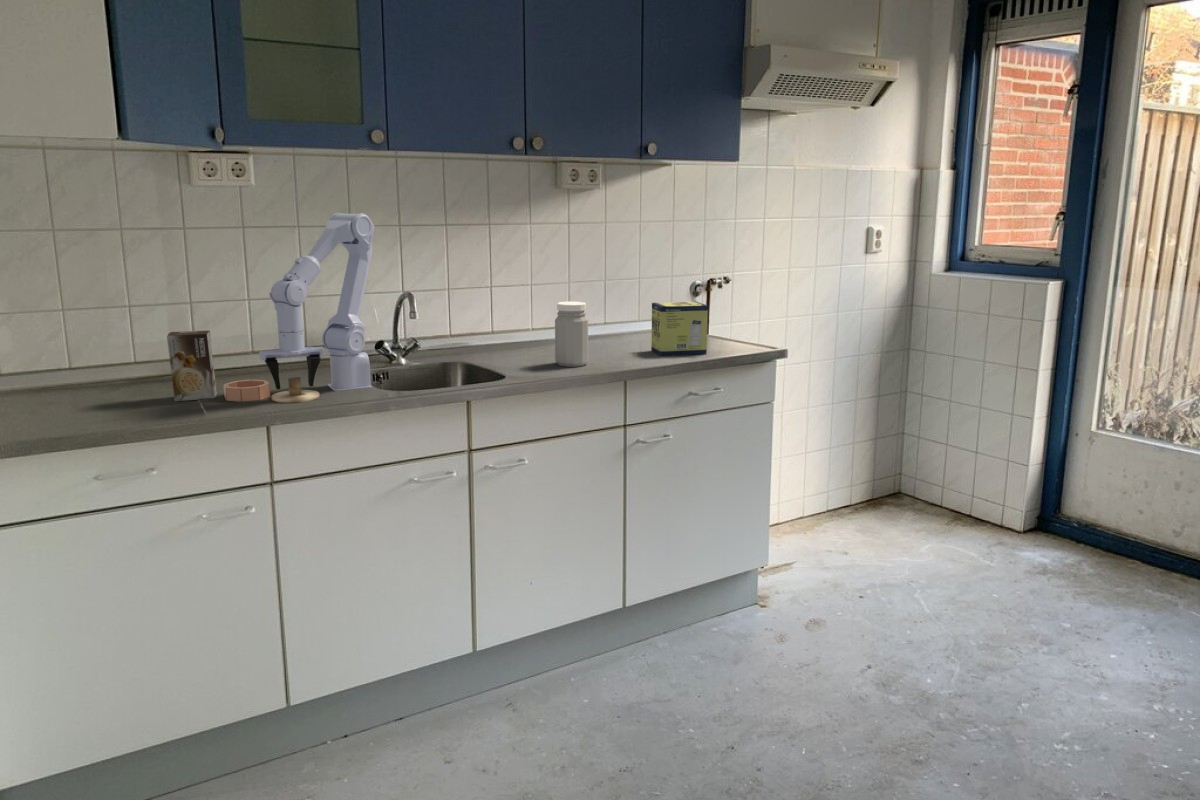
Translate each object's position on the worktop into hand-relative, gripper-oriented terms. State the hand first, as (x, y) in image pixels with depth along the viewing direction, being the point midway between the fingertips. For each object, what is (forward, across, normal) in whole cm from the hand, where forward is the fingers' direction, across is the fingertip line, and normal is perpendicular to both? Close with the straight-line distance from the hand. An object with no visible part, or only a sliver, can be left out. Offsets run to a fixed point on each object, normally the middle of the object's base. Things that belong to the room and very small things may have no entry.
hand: (294, 387), depth 216 cm
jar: (+3, +80, +10) cm, 81 cm away
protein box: (+3, +119, +12) cm, 120 cm away
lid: (+3, 0, 0) cm, 3 cm away
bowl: (+3, -10, +7) cm, 13 cm away
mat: (+3, +1, 0) cm, 3 cm away
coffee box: (+3, -21, +14) cm, 25 cm away
